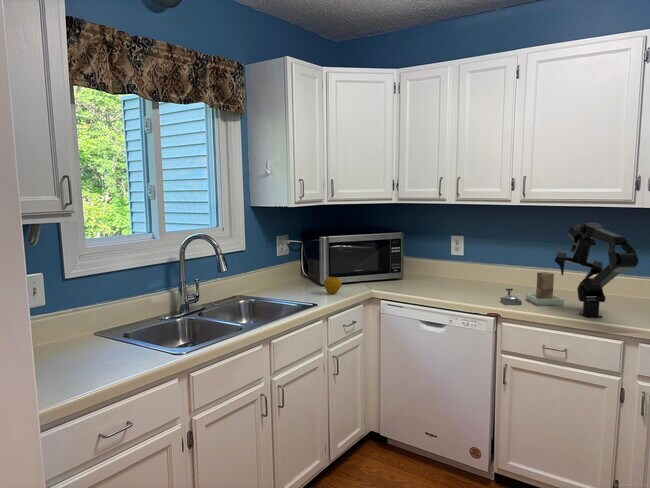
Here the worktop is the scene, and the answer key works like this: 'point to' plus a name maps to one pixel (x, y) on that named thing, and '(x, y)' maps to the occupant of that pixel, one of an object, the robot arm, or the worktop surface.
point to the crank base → (511, 301)
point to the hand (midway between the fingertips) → (573, 278)
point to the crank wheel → (510, 297)
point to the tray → (544, 300)
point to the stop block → (544, 285)
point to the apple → (332, 285)
